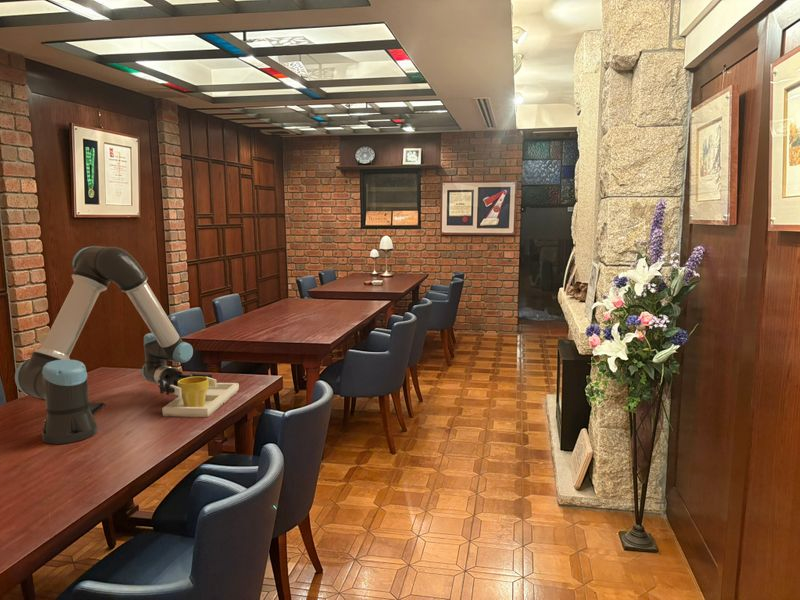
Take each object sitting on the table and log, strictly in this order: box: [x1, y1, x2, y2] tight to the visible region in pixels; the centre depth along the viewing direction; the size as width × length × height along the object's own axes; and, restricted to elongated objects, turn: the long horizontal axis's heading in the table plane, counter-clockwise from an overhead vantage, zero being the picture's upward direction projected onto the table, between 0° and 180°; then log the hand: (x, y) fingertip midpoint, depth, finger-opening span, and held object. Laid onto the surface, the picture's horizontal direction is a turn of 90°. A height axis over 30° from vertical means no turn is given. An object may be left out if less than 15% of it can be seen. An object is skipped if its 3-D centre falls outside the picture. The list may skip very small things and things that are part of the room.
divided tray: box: [161, 382, 240, 418], centre depth 212 cm, size 31×16×3 cm, turn 176°
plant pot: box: [178, 377, 209, 407], centre depth 204 cm, size 10×10×10 cm
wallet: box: [39, 402, 107, 425], centre depth 201 cm, size 20×2×15 cm
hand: (198, 387), depth 202 cm, fingers open, 13 cm apart
